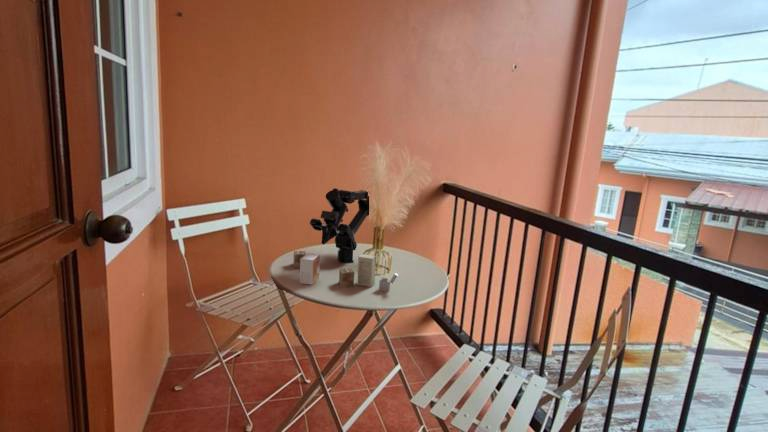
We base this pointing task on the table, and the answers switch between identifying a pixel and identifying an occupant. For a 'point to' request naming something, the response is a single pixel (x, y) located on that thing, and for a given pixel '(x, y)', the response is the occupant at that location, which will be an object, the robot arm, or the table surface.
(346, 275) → the walnut block one
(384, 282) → the lighter
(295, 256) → the walnut block seven
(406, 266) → the table surface
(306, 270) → the small box
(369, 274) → the skincare box
